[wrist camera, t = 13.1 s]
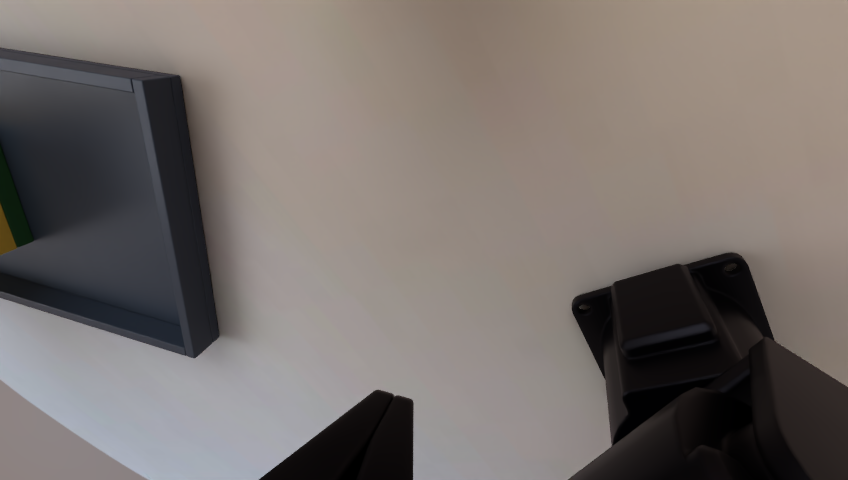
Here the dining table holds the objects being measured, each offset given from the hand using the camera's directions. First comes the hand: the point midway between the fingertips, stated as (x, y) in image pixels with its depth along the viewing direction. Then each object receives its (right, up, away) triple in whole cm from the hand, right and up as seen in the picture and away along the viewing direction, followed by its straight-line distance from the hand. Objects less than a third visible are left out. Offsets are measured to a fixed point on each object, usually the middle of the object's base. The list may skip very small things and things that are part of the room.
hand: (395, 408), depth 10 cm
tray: (-23, +7, +17) cm, 30 cm away
